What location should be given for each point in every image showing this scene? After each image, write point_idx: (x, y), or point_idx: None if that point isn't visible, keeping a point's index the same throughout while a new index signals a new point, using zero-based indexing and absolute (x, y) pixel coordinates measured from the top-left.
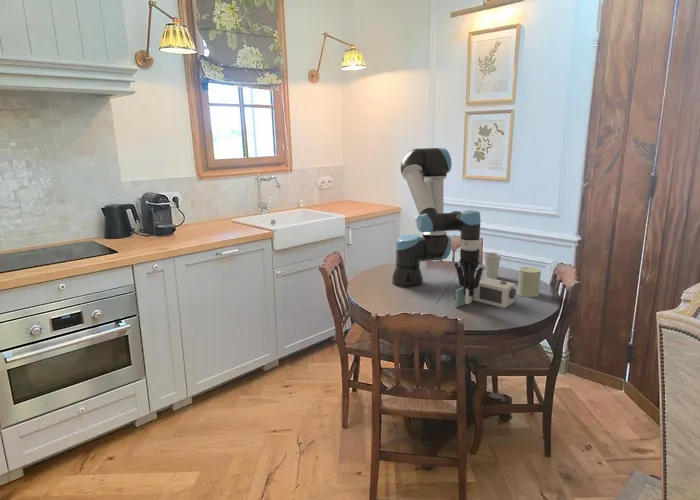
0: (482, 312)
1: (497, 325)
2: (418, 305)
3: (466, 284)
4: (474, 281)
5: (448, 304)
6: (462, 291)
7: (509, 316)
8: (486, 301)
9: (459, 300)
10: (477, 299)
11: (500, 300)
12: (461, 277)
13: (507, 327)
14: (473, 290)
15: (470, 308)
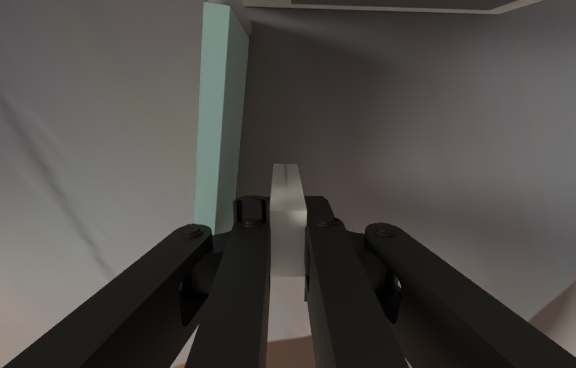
0: (394, 190)
1: (521, 293)
2: (46, 331)
3: (268, 293)
4: (414, 361)
5: (158, 210)
6: (220, 222)
7: (557, 142)
8: (354, 6)
9: (229, 223)
10: (271, 4)
11: (502, 2)
12: (158, 358)
13: (571, 283)
14: (239, 27)
15: (304, 180)
